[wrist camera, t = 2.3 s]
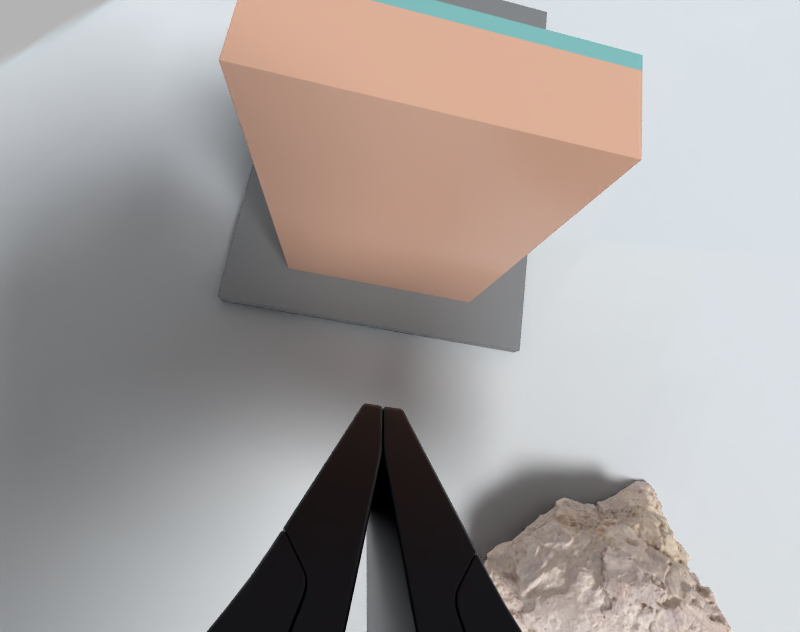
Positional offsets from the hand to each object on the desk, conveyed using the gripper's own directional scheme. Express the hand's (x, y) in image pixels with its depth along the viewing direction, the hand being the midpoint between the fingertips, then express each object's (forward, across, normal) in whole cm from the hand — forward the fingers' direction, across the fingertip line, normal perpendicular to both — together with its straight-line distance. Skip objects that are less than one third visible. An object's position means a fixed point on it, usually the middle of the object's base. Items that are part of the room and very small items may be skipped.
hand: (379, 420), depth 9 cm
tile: (+11, 0, +1) cm, 11 cm away
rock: (+2, -10, +11) cm, 15 cm away
